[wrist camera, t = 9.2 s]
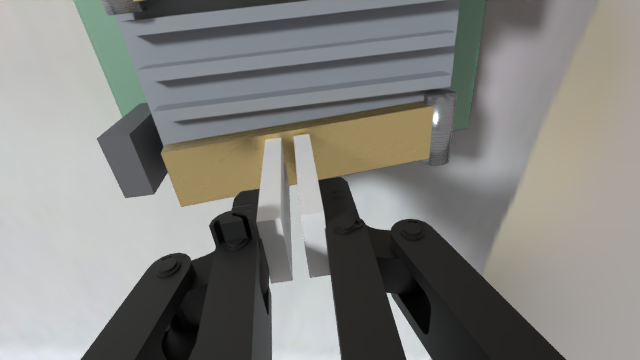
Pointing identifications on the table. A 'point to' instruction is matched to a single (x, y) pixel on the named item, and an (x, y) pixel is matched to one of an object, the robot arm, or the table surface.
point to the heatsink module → (269, 67)
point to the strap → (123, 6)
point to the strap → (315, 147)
